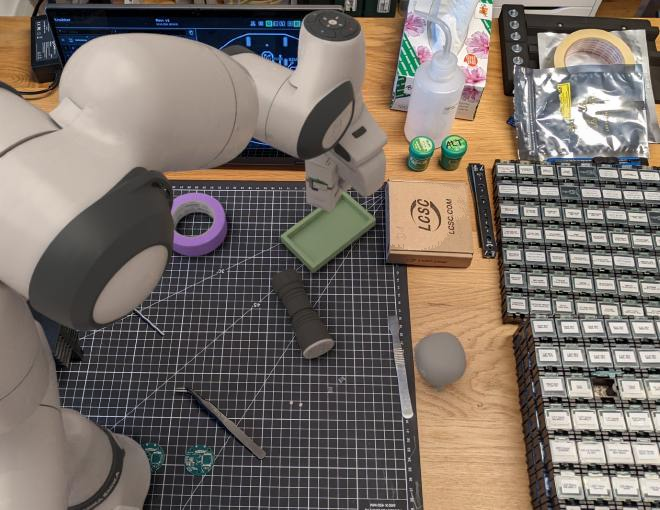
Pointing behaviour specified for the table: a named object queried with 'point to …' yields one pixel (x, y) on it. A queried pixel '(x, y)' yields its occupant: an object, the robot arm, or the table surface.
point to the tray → (327, 232)
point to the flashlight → (302, 314)
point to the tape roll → (206, 240)
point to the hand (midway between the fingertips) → (329, 172)
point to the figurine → (440, 359)
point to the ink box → (322, 183)
